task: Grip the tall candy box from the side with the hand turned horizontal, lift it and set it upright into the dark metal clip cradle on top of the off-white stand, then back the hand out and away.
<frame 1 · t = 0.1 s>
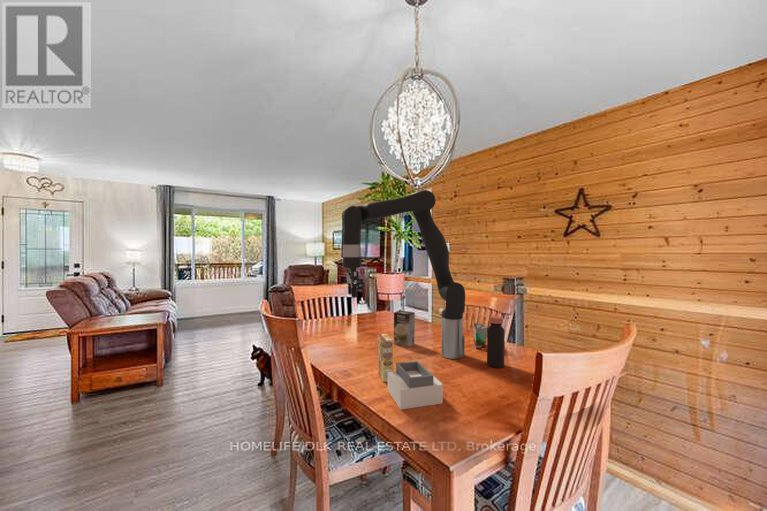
hand: (352, 295, 130), 29 cm above the table, tool pointing down, fingers open, 8 cm apart
coffee box: (404, 344, 160), on the table
food container: (481, 346, 156), on the table
bottle: (495, 365, 132), on the table
candy box: (385, 377, 120), on the table
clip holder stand: (413, 396, 105), on the table
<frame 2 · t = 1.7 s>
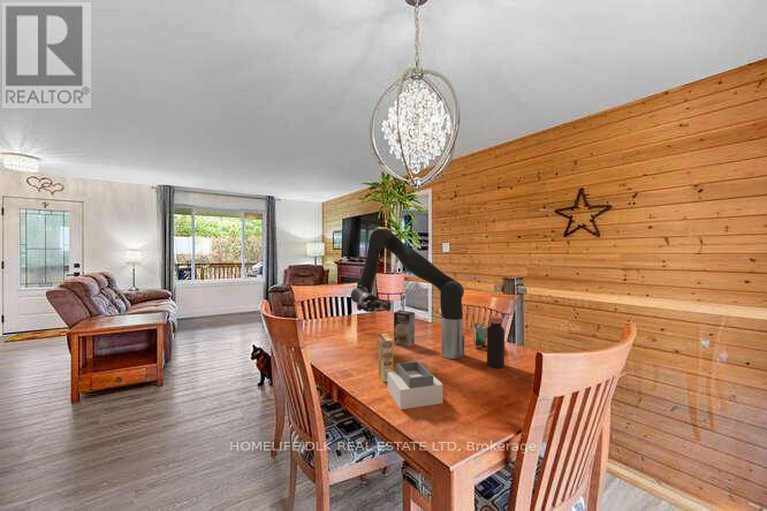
hand: (377, 308, 130), 24 cm above the table, tool horizontal, fingers open, 8 cm apart
nothing on the table moved.
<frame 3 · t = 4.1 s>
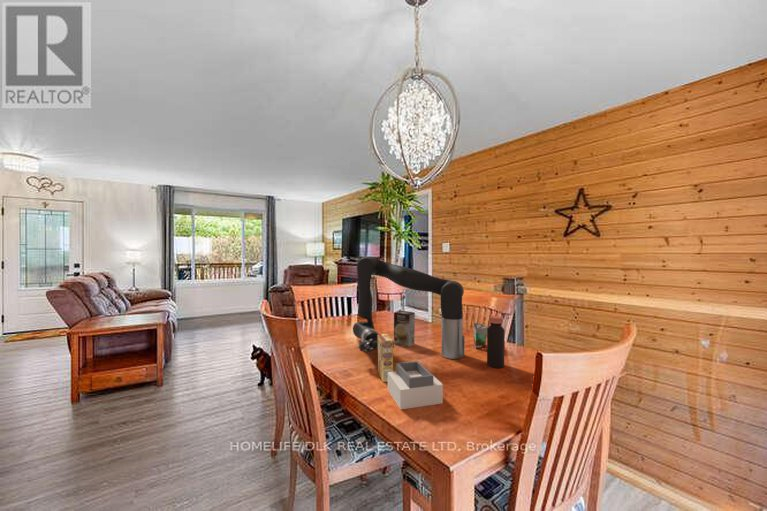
hand: (380, 349, 127), 8 cm above the table, tool horizontal, fingers open, 8 cm apart
nothing on the table moved.
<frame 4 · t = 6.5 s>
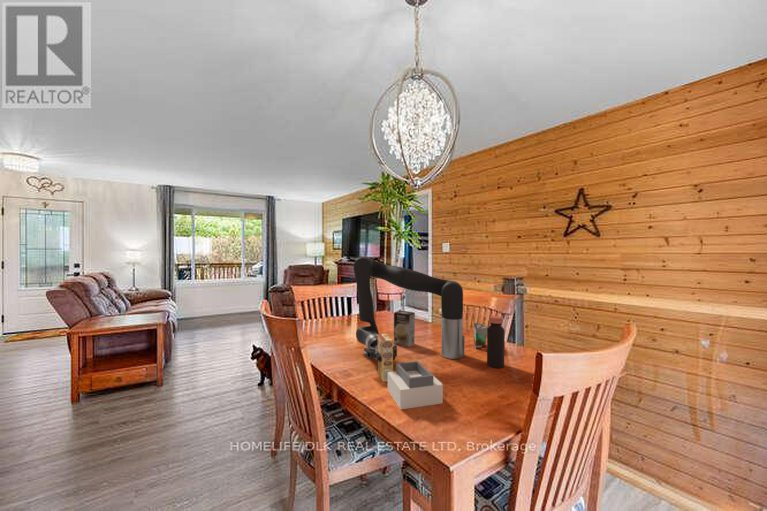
hand: (387, 358, 118), 8 cm above the table, tool horizontal, fingers closed on candy box, 4 cm apart
candy box: (385, 377, 121), on the table, touching gripper
everything else where it was.
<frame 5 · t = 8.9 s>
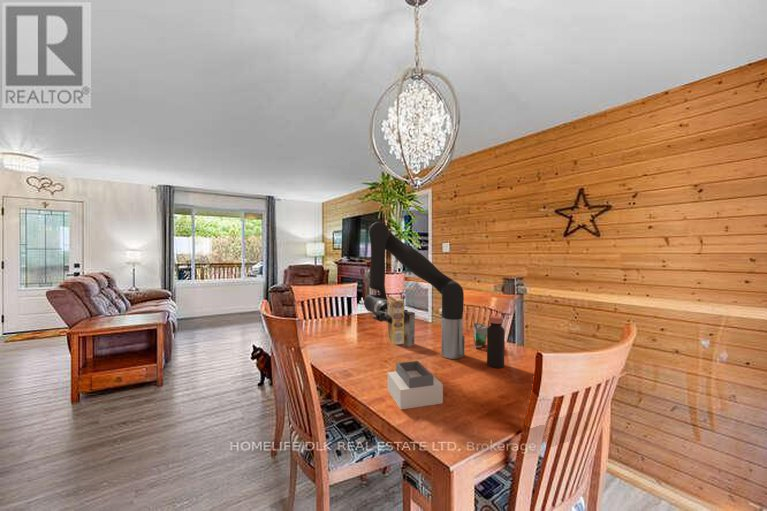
hand: (397, 320, 111), 24 cm above the table, tool horizontal, fingers closed on candy box, 4 cm apart
candy box: (395, 341, 114), point 16 cm above the table, touching gripper
everything else where it was.
when the fingers open (16 cm above the table, at t = 11.8 s): candy box drops 2 cm, resting on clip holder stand.
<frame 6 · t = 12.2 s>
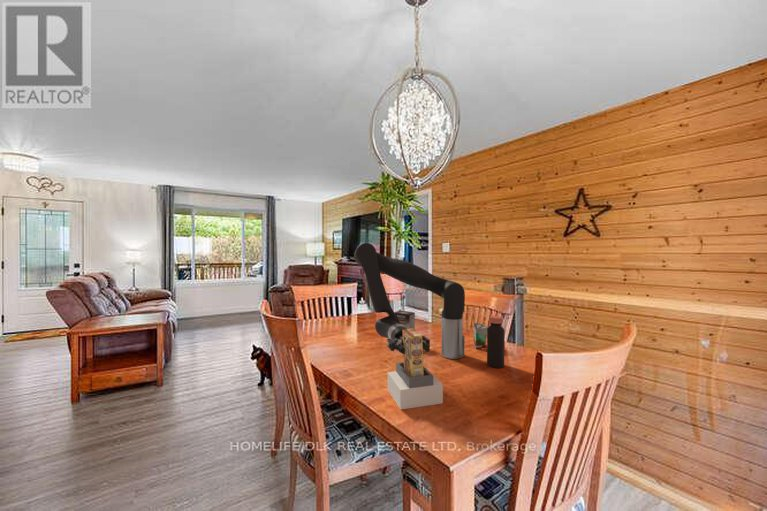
hand: (416, 349, 103), 16 cm above the table, tool horizontal, fingers open, 8 cm apart
candy box: (413, 378, 105), point 6 cm above the table, touching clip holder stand
everything else where it was.
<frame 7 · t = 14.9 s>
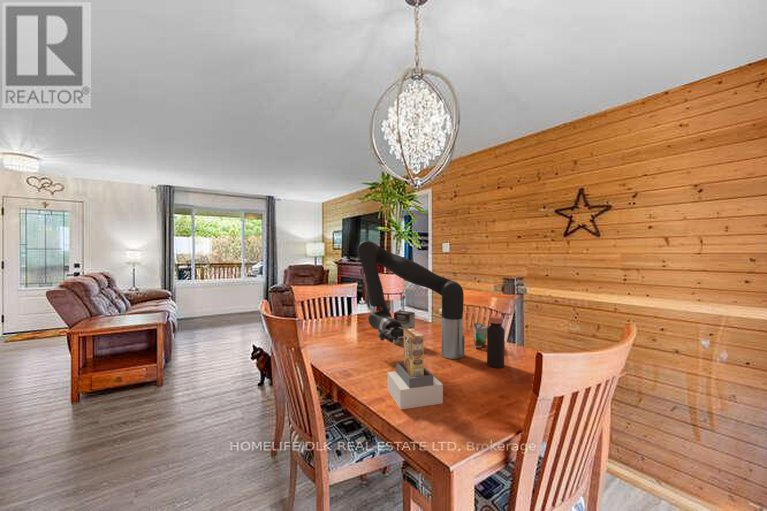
hand: (403, 339, 115), 16 cm above the table, tool horizontal, fingers open, 8 cm apart
nothing on the table moved.
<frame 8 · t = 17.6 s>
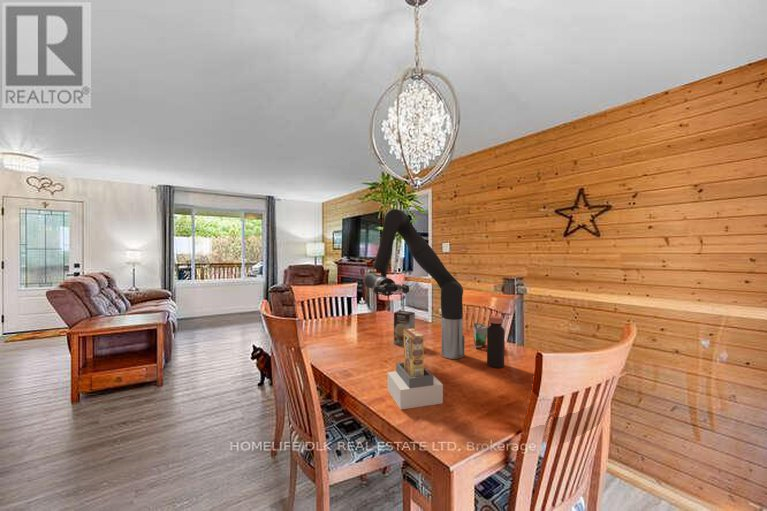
hand: (396, 291, 123), 32 cm above the table, tool horizontal, fingers open, 8 cm apart
nothing on the table moved.
at the end: candy box 0.1 cm off-centre on the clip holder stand, point 5.8 cm above the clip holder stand's base; candy box tilted 0°; the gripper is holding nothing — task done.
